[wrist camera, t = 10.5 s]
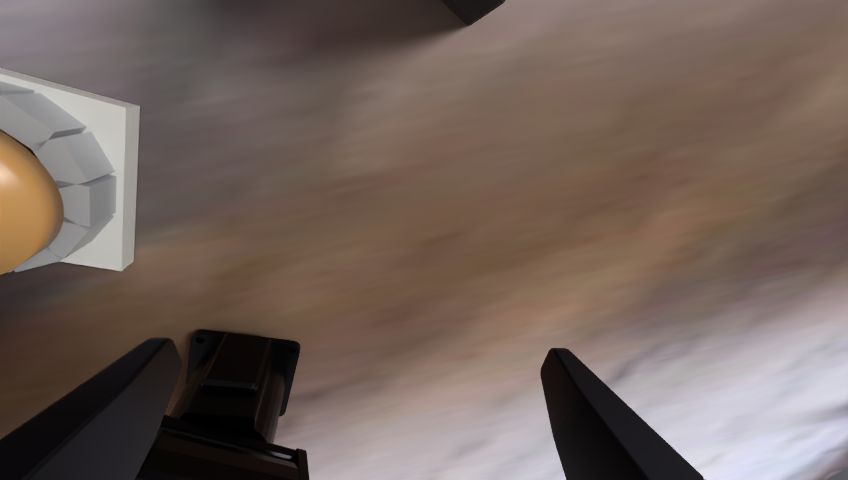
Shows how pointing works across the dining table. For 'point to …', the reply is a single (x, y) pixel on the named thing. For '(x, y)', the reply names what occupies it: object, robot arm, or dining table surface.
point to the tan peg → (25, 204)
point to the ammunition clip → (472, 8)
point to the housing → (79, 166)
